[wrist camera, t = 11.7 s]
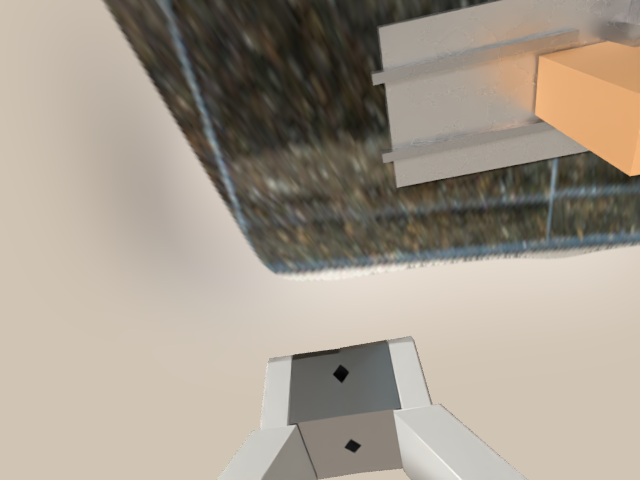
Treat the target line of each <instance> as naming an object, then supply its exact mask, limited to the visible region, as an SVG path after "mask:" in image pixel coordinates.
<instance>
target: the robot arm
mask: <svg viewBox="0 0 640 480" xmlns="http://www.w3.org/2000/svg"><path fill="white" fill-rule="evenodd" d="M401 468H403V470H404V472H405V473H406V474H407V475H408V477H409V478H410V479H411V480H527V479H526V478H525V477H524V476H522V475H521V474H520V473H519V472H518V471H517V470H516V469H515V468H513V467H512V466H511V465H510V464H509V463H508V462H507V461H505V460H504V459H503V458H502V457H501V456H500V455H498V454H497V453H496V452H495V451H494V450H493V449H492V448H490V447H489V446H488V445H487V444H486V443H485V442H483V441H482V440H481V439H480V438H479V437H478V436H477V435H475V434H474V433H473V432H472V431H471V430H470V429H469V428H467V427H466V426H465V425H464V424H463V423H462V422H460V421H459V420H458V419H457V418H456V417H455V416H454V415H453V414H451V413H450V412H449V411H448V410H447V409H446V408H445V407H443V406H442V405H441V404H435V405H432V401H431V398H430V394H429V391H428V387H427V384H426V380H425V377H424V373H423V370H422V366H421V363H420V359H419V356H418V352H417V349H416V345H415V342H414V339H413V338H412V337H411V336H409V337H403V338H397V339H391V340H388V341H387V340H384V341H378V342H373V343H366V344H361V345H354V346H349V347H343V348H340V349H334V350H325V351H318V352H310V353H303V354H295V355H290V356H283V357H275V358H270V359H269V361H268V364H267V368H266V377H265V387H264V397H263V405H262V415H261V424H260V430H254V431H252V432H251V434H250V435H249V436H248V438H247V439H246V440H245V442H244V443H243V444H242V446H241V447H240V449H239V450H238V451H237V453H236V454H235V456H234V457H233V458H232V459H231V461H230V462H229V463H228V465H227V466H226V468H225V469H224V470H223V472H222V473H221V474H220V476H219V477H218V478H217V480H318V479H324V478H330V477H337V476H343V475H348V474H355V473H362V472H372V471H382V470H392V469H401Z"/></svg>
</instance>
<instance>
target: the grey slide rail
mask: <svg viewBox="0 0 640 480" xmlns="http://www.w3.org/2000/svg"><path fill="white" fill-rule="evenodd" d="M377 32H378V40H379V49H380V58H381V66H382V70H378V71H374V72H371V80H372V84H373V85H377V84H382V83H384V92H385V100H386V109H387V117H388V126H389V135H390V143H391V149H387V150H382V151H381V156H382V161H383V163H386V162H391V161H393V169H394V177H395V184H396V186H397V187H402V186H408V185H413V184H418V183H423V182H428V181H434V180H439V179H444V178H449V177H455V176H460V175H465V174H470V173H476V172H481V171H486V170H491V169H497V168H502V167H507V166H512V165H518V164H523V163H528V162H533V161H538V160H544V159H549V158H554V157H559V156H565V155H570V154H575V153H580V152H586V151H590V150H589V149H587V148H586V147H584V146H582V145H581V144H579V143H578V142H576V141H575V140H573V139H572V138H570V137H569V136H567V135H565V134H564V133H562V132H561V131H559V130H558V129H556V128H555V127H553V126H551V125H550V124H548V123H547V122H545V121H544V120H542V119H541V118H539V117H538V116H536V115H535V108H536V94H537V79H538V65H539V56H541V55H546V54H550V53H555V52H560V51H565V50H569V49H574V48H579V47H584V46H588V45H593V44H598V43H602V42H607V41H610V42H614V43H618V44H622V45H626V46H630V47H634V48H635V47H640V0H492V1H487V2H483V3H478V4H474V5H469V6H465V7H461V8H456V9H452V10H447V11H443V12H438V13H434V14H429V15H425V16H420V17H416V18H412V19H407V20H403V21H398V22H394V23H389V24H385V25H380V26H377Z"/></svg>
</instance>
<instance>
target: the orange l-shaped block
mask: <svg viewBox="0 0 640 480" xmlns="http://www.w3.org/2000/svg"><path fill="white" fill-rule="evenodd" d="M535 115H536V116H538V117H539V118H541V119H542V120H544V121H545V122H547V123H548V124H550V125H551V126H553V127H555V128H556V129H558V130H559V131H561V132H562V133H564V134H565V135H567V136H569V137H570V138H572V139H573V140H575V141H576V142H578V143H579V144H581V145H582V146H584V147H586V148H587V149H589V150H590V151H592V152H593V153H595V154H596V155H598V156H599V157H601V158H603V159H604V160H606V161H607V162H609V163H610V164H612V165H613V166H615V167H616V168H618V169H620V170H621V171H623V172H624V173H626V174H627V175H629V176H634V175H639V174H640V47H635V48H634V47H630V46H626V45H622V44H618V43H614V42H610V41H607V42H602V43H598V44H593V45H588V46H584V47H579V48H574V49H569V50H565V51H560V52H555V53H550V54H546V55H541V56H539V65H538V79H537V94H536V108H535Z"/></svg>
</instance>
